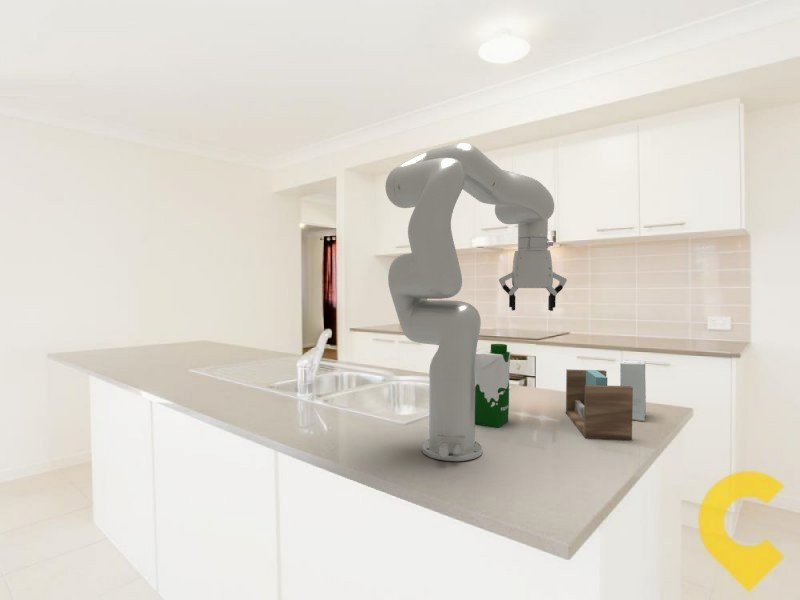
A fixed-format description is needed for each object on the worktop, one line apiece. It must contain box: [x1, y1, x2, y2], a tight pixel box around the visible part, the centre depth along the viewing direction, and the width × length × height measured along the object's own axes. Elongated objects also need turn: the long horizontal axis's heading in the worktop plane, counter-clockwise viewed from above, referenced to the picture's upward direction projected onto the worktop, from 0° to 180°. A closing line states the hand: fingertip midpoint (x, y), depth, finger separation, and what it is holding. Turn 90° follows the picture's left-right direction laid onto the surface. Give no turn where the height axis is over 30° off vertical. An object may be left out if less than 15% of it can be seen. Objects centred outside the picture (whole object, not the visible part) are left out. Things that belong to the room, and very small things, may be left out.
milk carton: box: [475, 343, 511, 429], centre depth 122 cm, size 9×9×20 cm
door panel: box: [585, 369, 608, 386], centre depth 119 cm, size 10×3×12 cm, turn 172°
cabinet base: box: [565, 369, 633, 441], centre depth 119 cm, size 22×10×12 cm, turn 172°
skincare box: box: [619, 359, 647, 422], centre depth 128 cm, size 8×6×15 cm
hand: (531, 310), depth 127 cm, fingers open, 9 cm apart
